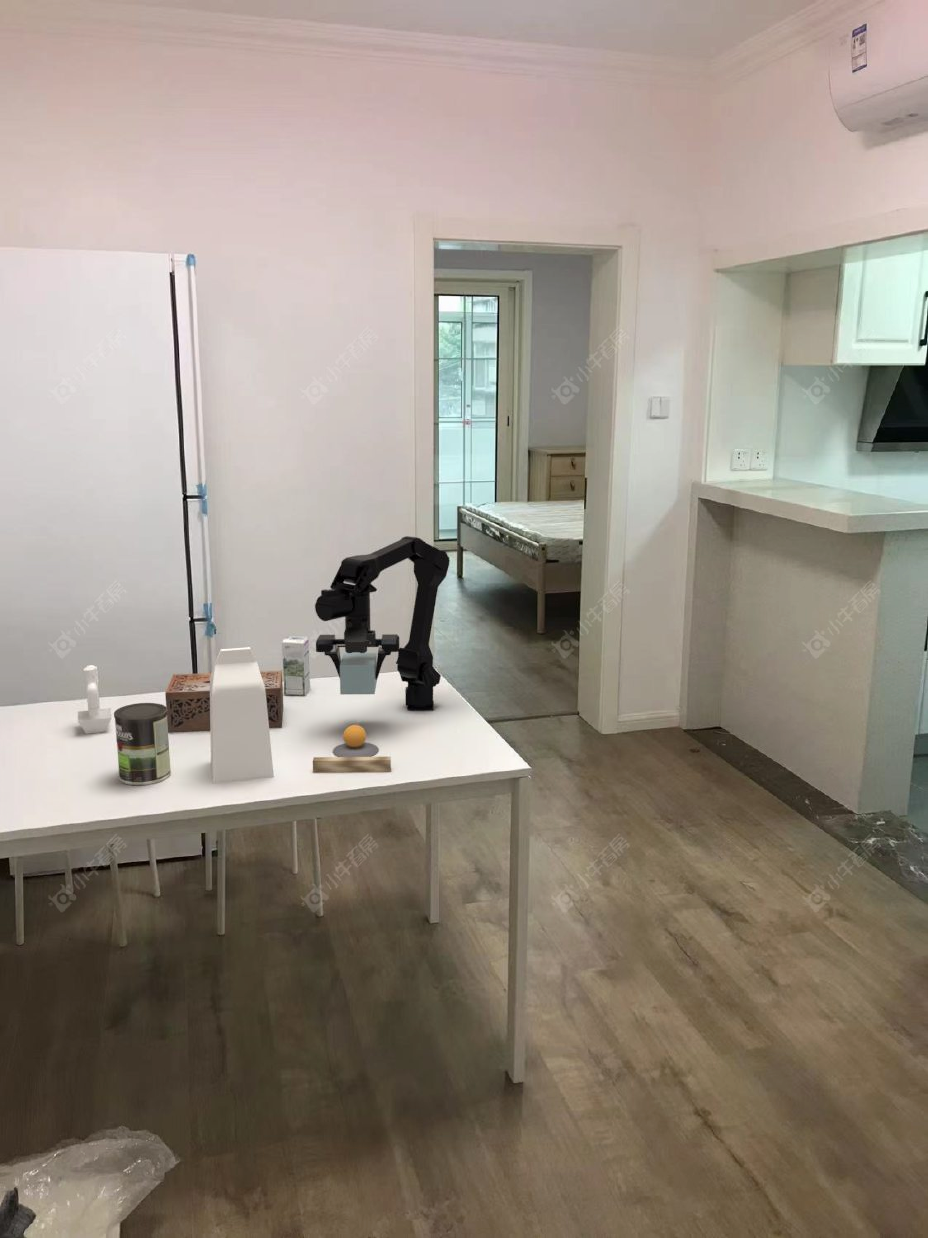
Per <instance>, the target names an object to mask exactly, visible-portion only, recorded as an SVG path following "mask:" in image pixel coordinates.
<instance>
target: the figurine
mask: <svg viewBox="0 0 928 1238" xmlns="http://www.w3.org/2000/svg"><path fill="white" fill-rule="evenodd" d="M98 674H99V672H98V667H97V666H96V665H93V664H90V665H86V667H85V668H83V675H84V680H85V690H86V700H87V702H86V703H87V710H81V711H77V723H78V724H79V726H80V727H81V729H82V730H83V731H84V733H85V734H86V735H88V734H89V735H90V734H97V733H106V732H107V730H108V727H109V726H110V725H109V724H110V722H111V720H112V709H111V708H101V706H100V705H101V704H100V695H99V678H98V677H99V676H98Z"/></svg>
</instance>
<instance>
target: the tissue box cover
mask: <svg viewBox="0 0 928 1238" xmlns="http://www.w3.org/2000/svg"><path fill="white" fill-rule="evenodd" d="M211 673H212V672H210V673H209V672H208V673H207V672H205V673H184V674H183V673H180V674H179V673H178V674H173V675H172V677H171V679H170V681H169V683H168V686H167V688H166V690H165V693H164V695H165V706H166V707H167V723H168V734H173V733H175V734H177V733H196V732H197V733H199V732H210V676H211ZM260 673H261V677H262V680H263V683H264V687H265V692H266V701H267V712H268V722H269V729H283V721H284V720H283V719H284V683H283V669H282V670H280V669H279V670H263V671H262V670H260Z"/></svg>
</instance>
